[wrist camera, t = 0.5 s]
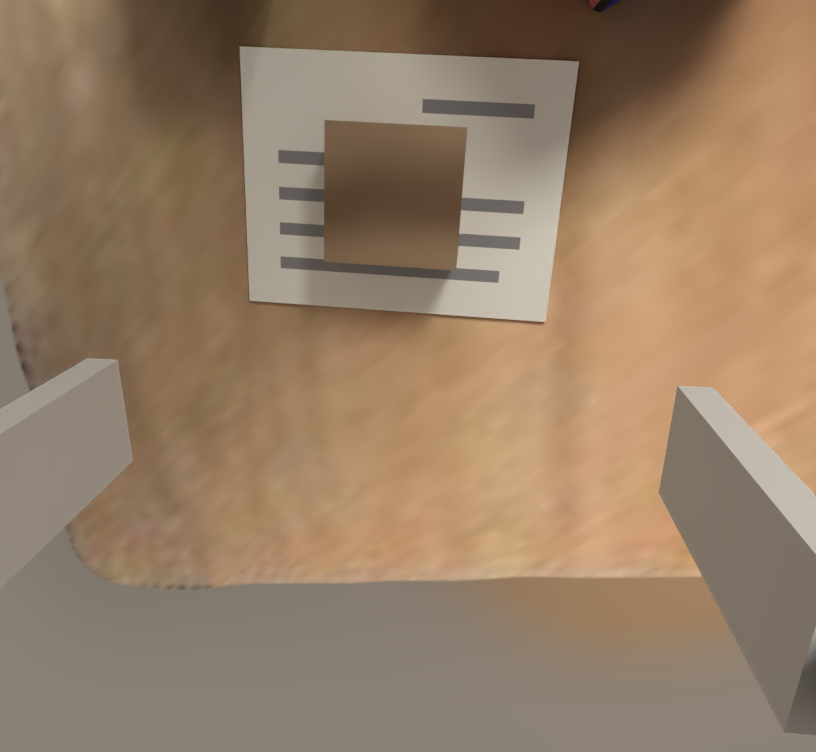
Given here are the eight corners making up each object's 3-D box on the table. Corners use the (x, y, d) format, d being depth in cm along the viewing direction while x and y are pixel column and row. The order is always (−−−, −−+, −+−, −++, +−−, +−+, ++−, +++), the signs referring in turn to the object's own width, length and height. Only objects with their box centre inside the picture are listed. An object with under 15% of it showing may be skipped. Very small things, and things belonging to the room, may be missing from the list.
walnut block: (340, 121, 35) (324, 120, 32) (467, 128, 35) (466, 127, 31) (338, 249, 38) (323, 261, 34) (457, 257, 37) (455, 270, 34)
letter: (240, 46, 35) (239, 46, 35) (578, 61, 34) (579, 61, 33) (250, 299, 40) (249, 300, 40) (545, 321, 38) (545, 322, 38)
